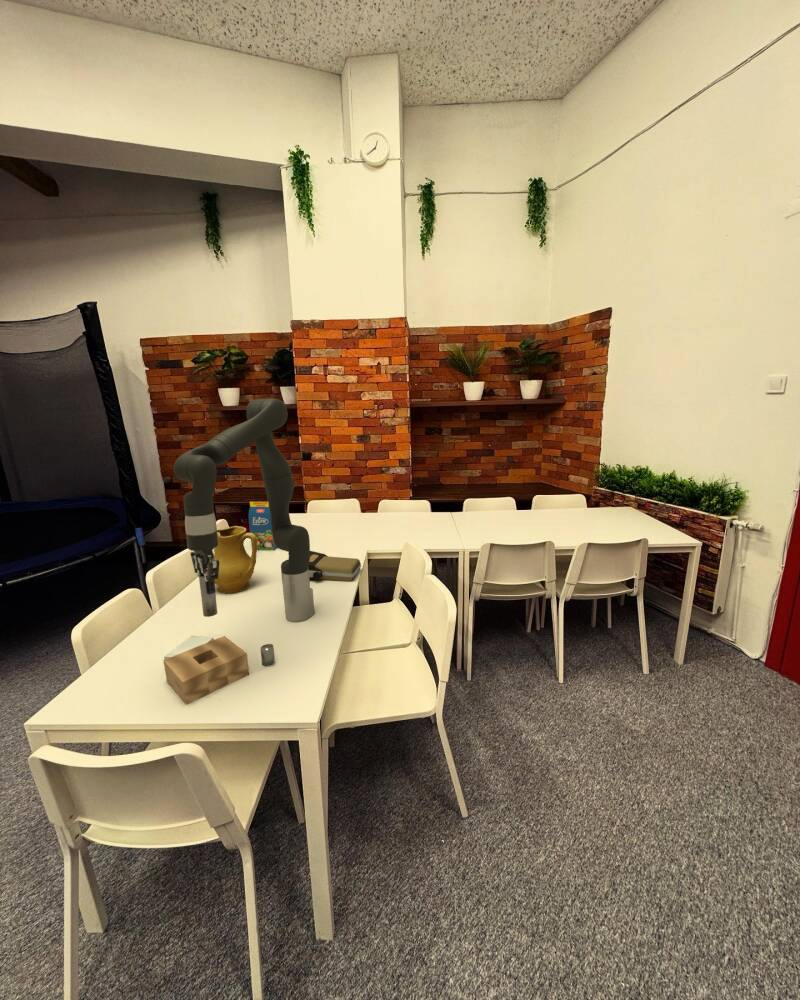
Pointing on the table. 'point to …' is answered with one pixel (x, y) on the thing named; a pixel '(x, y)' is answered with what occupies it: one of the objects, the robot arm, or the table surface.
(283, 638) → the table surface
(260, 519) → the blue food package
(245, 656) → the guide block
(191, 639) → the hard drive
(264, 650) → the short pin
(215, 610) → the long pin
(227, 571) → the pitcher
